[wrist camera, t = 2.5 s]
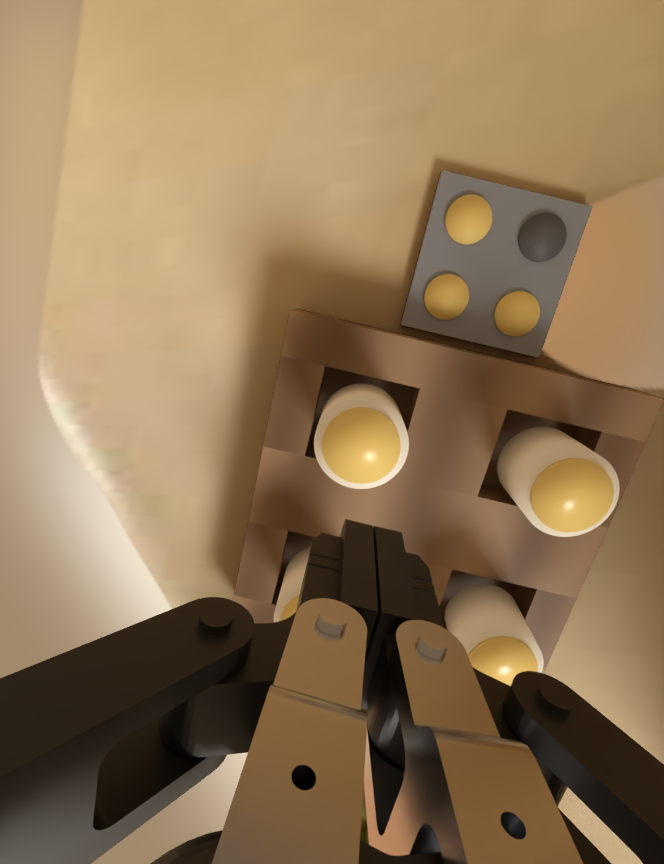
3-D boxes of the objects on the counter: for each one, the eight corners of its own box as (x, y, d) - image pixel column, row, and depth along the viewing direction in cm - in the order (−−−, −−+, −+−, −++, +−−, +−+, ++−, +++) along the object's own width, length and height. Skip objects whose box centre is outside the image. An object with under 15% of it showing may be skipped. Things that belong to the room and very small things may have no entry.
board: (632, 388, 27) (664, 399, 24) (517, 662, 32) (532, 697, 30) (297, 309, 27) (289, 309, 24) (239, 597, 32) (227, 626, 29)
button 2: (592, 437, 25) (638, 464, 21) (562, 509, 26) (601, 549, 22) (512, 418, 25) (543, 441, 21) (486, 492, 26) (510, 528, 22)
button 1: (410, 393, 25) (421, 412, 21) (389, 469, 26) (395, 500, 22) (330, 375, 25) (324, 389, 21) (313, 451, 26) (304, 479, 22)
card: (587, 208, 24) (594, 205, 24) (535, 356, 27) (540, 358, 26) (440, 173, 24) (443, 169, 24) (400, 324, 27) (401, 325, 26)
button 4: (528, 593, 28) (558, 644, 23) (504, 652, 29) (528, 711, 25) (456, 576, 28) (474, 625, 23) (435, 636, 29) (448, 693, 25)
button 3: (365, 555, 27) (366, 600, 23) (348, 616, 29) (346, 669, 25) (293, 538, 27) (281, 580, 23) (278, 599, 29) (265, 650, 25)
